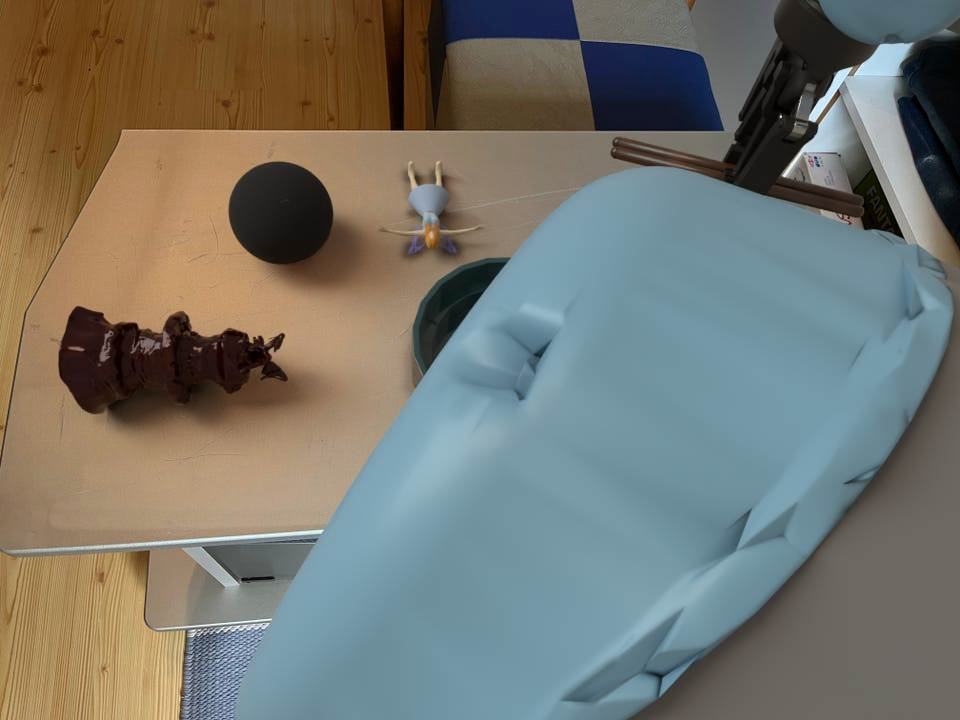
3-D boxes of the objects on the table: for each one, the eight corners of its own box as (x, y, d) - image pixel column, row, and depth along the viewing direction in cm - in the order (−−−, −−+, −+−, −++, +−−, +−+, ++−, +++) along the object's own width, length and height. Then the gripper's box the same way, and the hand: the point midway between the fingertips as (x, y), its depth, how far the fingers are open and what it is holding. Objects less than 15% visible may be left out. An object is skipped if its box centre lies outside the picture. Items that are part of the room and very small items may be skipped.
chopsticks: (859, 202, 67) (866, 194, 66) (859, 221, 66) (866, 213, 65) (611, 141, 68) (614, 132, 67) (608, 159, 67) (611, 151, 66)
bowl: (578, 476, 69) (593, 453, 64) (389, 427, 69) (388, 401, 64) (606, 315, 78) (621, 283, 72) (438, 272, 78) (441, 238, 73)
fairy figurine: (477, 149, 82) (490, 229, 75) (473, 182, 86) (486, 261, 79) (372, 150, 80) (375, 231, 74) (373, 184, 84) (377, 264, 78)
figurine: (104, 391, 72) (295, 384, 75) (65, 433, 62) (286, 424, 65) (89, 291, 69) (289, 289, 71) (46, 320, 59) (279, 316, 62)
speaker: (354, 258, 78) (349, 195, 69) (267, 299, 74) (249, 239, 66) (307, 193, 81) (297, 125, 72) (222, 230, 78) (200, 163, 69)
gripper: (798, -92, 54) (686, 142, 74) (793, 47, 46) (670, 264, 67) (900, -68, 53) (759, 160, 74) (911, 76, 46) (751, 284, 67)
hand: (717, 209), depth 71 cm, fingers closed on chopsticks, 2 cm apart
